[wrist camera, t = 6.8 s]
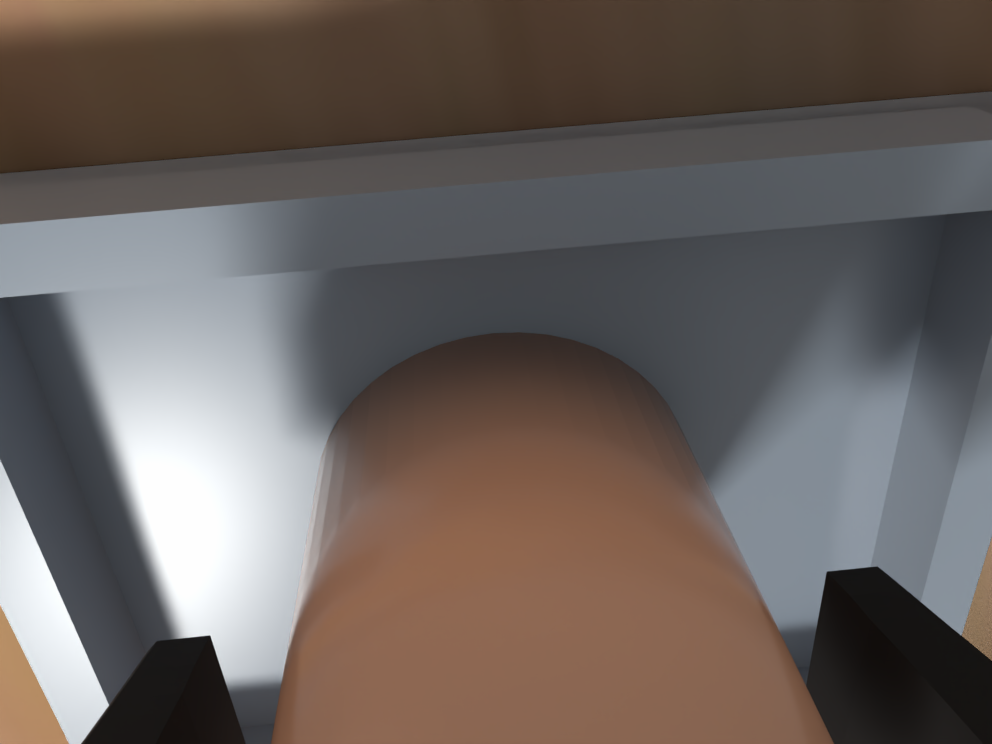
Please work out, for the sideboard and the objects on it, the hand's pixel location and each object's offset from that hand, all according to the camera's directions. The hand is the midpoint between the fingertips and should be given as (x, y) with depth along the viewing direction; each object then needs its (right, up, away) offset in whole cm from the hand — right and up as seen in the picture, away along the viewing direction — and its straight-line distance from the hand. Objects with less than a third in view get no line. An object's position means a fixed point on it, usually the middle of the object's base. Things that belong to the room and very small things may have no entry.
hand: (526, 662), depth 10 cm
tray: (0, +2, +3) cm, 4 cm away
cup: (0, +2, +3) cm, 3 cm away
